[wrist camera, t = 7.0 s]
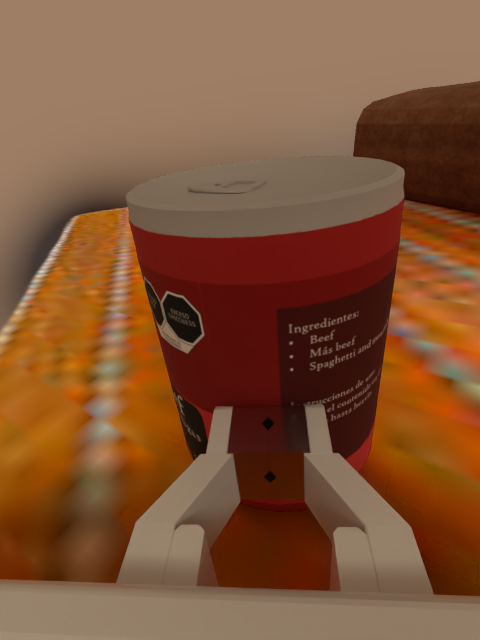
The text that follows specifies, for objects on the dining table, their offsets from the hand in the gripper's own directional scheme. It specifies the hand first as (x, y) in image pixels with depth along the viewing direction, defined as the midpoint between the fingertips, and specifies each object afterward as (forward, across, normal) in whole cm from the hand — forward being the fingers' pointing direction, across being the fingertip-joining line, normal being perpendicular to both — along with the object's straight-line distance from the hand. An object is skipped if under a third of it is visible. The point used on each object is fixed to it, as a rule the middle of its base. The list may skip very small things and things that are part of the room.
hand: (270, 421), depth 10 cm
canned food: (+4, 0, +5) cm, 6 cm away
